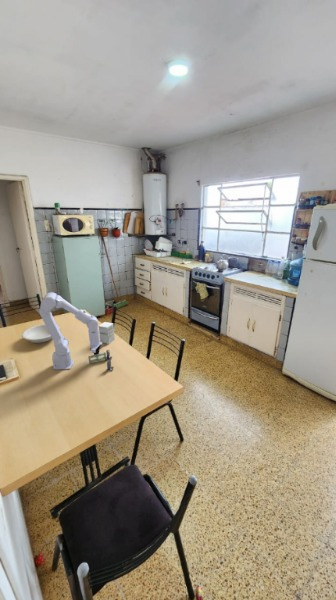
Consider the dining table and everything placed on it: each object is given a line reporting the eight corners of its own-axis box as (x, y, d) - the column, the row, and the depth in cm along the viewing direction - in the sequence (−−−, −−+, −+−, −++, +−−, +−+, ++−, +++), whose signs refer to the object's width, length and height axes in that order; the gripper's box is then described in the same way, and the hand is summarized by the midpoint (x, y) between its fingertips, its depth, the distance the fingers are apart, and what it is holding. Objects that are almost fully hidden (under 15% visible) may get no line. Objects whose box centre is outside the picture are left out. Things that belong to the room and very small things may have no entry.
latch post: (106, 371, 141) (105, 362, 139) (108, 367, 145) (107, 359, 143) (112, 370, 141) (111, 362, 139) (113, 367, 145) (112, 358, 143)
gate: (105, 357, 152) (105, 352, 151) (106, 358, 151) (105, 353, 150) (89, 362, 148) (88, 356, 147) (89, 363, 147) (88, 357, 146)
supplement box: (99, 342, 171) (98, 325, 167) (106, 337, 178) (104, 321, 174) (109, 344, 169) (107, 327, 164) (115, 339, 175) (113, 323, 171)
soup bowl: (68, 336, 180) (67, 328, 177) (36, 352, 161) (34, 343, 158) (48, 328, 192) (46, 320, 189) (16, 342, 173) (14, 333, 170)
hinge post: (105, 360, 151) (104, 352, 149) (106, 357, 154) (105, 349, 153) (111, 360, 151) (110, 352, 149) (112, 357, 155) (111, 349, 153)
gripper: (99, 342, 139) (102, 363, 144) (102, 330, 153) (105, 349, 158) (86, 343, 139) (89, 364, 143) (90, 331, 152) (93, 350, 157)
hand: (96, 356), depth 151 cm, fingers closed, pressing on gate
